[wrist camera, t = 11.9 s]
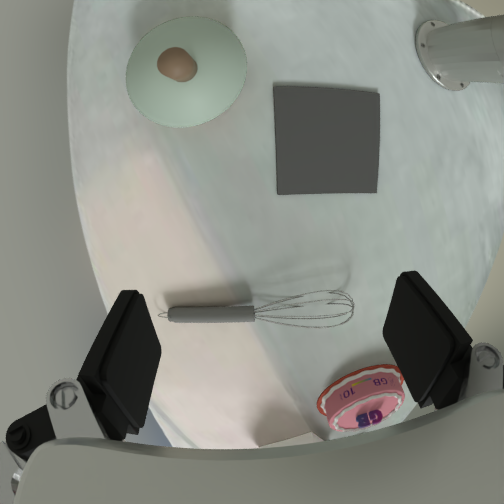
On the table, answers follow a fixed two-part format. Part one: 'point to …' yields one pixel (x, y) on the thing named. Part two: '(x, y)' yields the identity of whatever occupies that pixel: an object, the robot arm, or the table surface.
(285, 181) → the mat
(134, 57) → the lid
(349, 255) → the table surface
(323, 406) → the cake
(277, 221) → the table surface
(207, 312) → the kitchen whisk
